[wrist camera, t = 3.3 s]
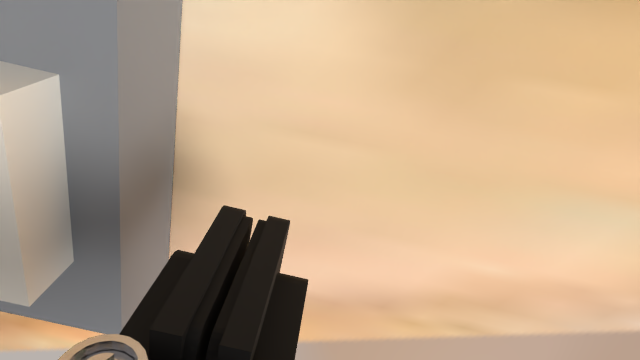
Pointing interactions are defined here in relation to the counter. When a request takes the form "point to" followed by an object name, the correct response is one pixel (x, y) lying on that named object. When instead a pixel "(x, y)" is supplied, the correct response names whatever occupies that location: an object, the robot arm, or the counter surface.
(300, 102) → the counter surface
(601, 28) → the counter surface
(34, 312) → the grey block
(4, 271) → the tile
